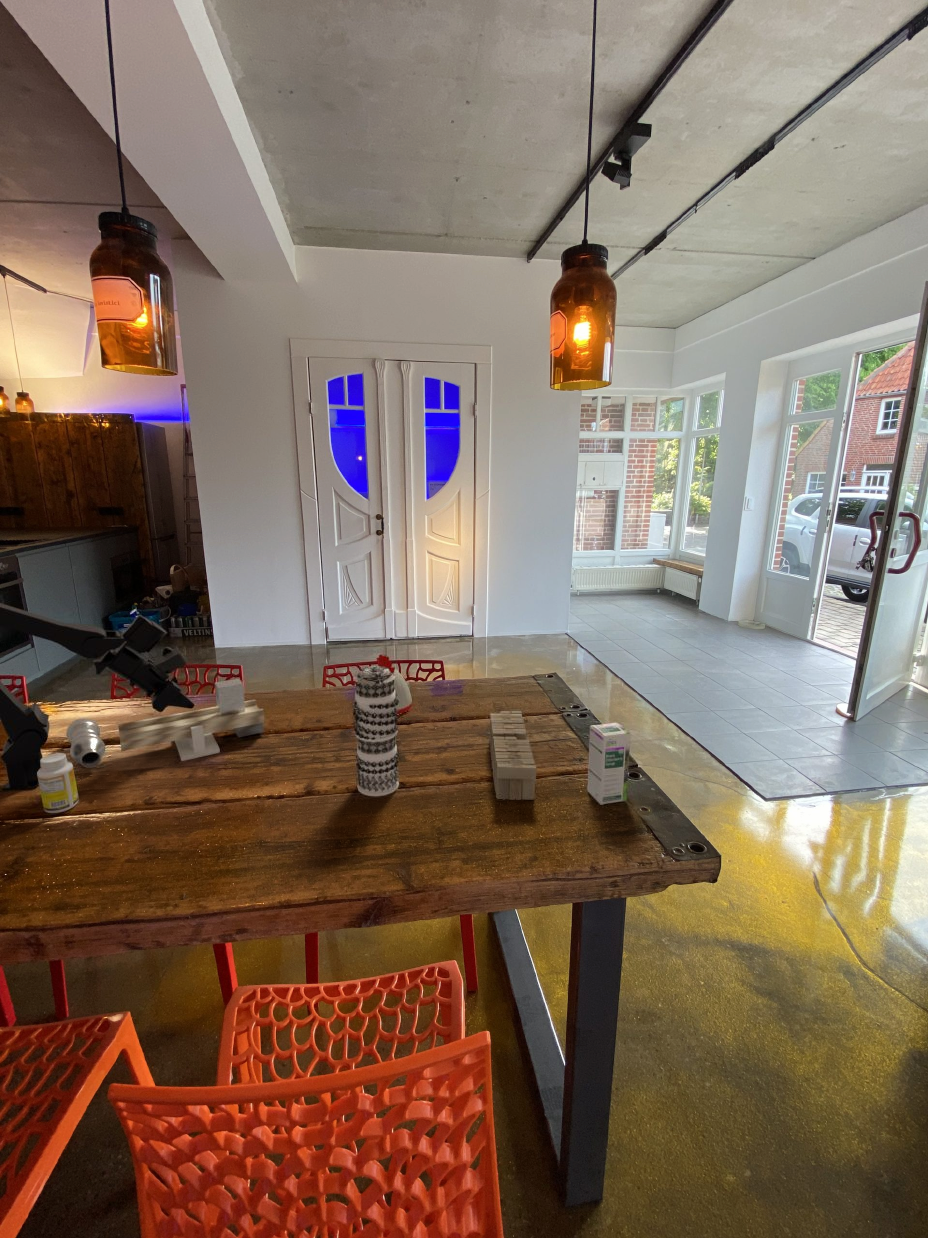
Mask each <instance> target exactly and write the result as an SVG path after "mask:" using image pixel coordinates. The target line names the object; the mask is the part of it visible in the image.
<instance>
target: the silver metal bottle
mask: <svg viewBox="0 0 928 1238" xmlns="http://www.w3.org/2000/svg"><path fill="white" fill-rule="evenodd" d="M100 734H101V729H100V726H99V724H98V723H97V722H96V721H95V720H93V719H91V718H86V717H82V718H78V719H75V720H73V721H72V722H71V723H70V724H69V726H68V727H67V728H66V733H65V735H66V738H67V740H68V742H69V743H70V745H71V746H70V748H69V749H70V750H69V754H70V758H71V759H72V760H73V761H74V762H75V763H77V764H79V765H82V766H83V767H85V768H94V767H96V766H98V765H99V764H100V763H101V761H102V758H103V757H104V755H105V753H106V748H107V747H106V745H105V742H104V741H103V739H101V738H100Z"/></svg>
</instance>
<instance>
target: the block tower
mask: <svg viewBox="0 0 928 1238" xmlns="http://www.w3.org/2000/svg"><path fill="white" fill-rule="evenodd" d="M490 746H491V747H490ZM489 747H490V757H491V759H490V761H491V760H492V761H491V770H492V769H493V771H492V777H493V779H492V780H493V785H494V792H495V796H496V797H495V798H497V799H503V800H502V801H506V800H505V799H509V800H510V801H512V800H513V801H521V800H525V801H526V800H532V801H533V800H535V794H536V793H535V789H536V788H535V786H536V785H535V784H536V780H537V765H536V762H535V759H534V756H533V752H532V749H531V748H532V747H531V745H530V740H529V739H527V730H526V724H525V722H524V718H523V714H522V711H521V710H511V711H509V710H499V713H489ZM497 799H496V800H497ZM515 799H516V800H515Z"/></svg>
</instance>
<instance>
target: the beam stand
mask: <svg viewBox="0 0 928 1238" xmlns="http://www.w3.org/2000/svg"><path fill="white" fill-rule="evenodd" d="M191 734H192V737H190V738H185V739H180V740H175V741H174V742H175V746H176V748H177V752H178V755H179V758H180V760H181V762H183V761H184V762H185V761H188V760H193V759H197V758H202V757H206V756H210V755H211V756H212V755H214V754H219V753H220V752H221V751H220V747H219V745H218V743H217V741H216V739H215V737H214V735H213V733H210V734H205V735H204V732H203V726H202V725H199V726H194V727H191Z"/></svg>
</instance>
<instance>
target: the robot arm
mask: <svg viewBox="0 0 928 1238" xmlns="http://www.w3.org/2000/svg"><path fill="white" fill-rule="evenodd" d="M0 627H2V628H6V629H9V630H12V631H16V632H19V633H22V634H26V635H30V636H33V637H37V638H39V639H40V638H41V639H43V640H47V641H51V642H52V643H53V642H54V643H55V644H58V645H60V646H62V647H63V648H65V649H66V650H68V651H70V652H72V653H74V654H77V655H79V656H80V657H83V658H86V659H90V660H93V659H94V660H93V665H94V668H95V674H96V675H97V676H99V675H101V673H103V671H104V670H105V669H106V670H109V671H111V672H112V673H114V674H115V675H116V676H118V677H120V678H122V679H123V680H125V681H126V682H128V685H129V686H131V687H133V688H134V687H136V688H138V689H139V690H141V691H142V692H144V693H145V696H147V697H148V698H150V700H151V706H152V709H153V710H155V711H157V712H158V713H160V714H161V713H162V712H163V711H165V710H166V708H167V707H176V708H183V709H189V710H190V709H194V708H195V703H194V702H193V701H192V700H191V699H190V698H189V697H188V696H187V695H186V694H185V693H184V691H183V690H182V689H181V687H180V686H181V685H180V682H179V681H178V678H177V676H173V678H172V679H170V674H172V673H173V672H174V671H176V670H178V669H179V668H183V667H185V666H187V664H188V662H187V660H186V658H185V656H184V655H183V653H182V652H181V651H180V650H179V648H173V649H172V648H171V647H169V646H165V647H164V648H162V649H161V652H160V653H161V656H158V658H157V659H156V660H153V659H150V658H144V657H142V656H141V655H140V654H145V653H150V652H151V651H152V650H153V649H154V648H155V646H157V644H158V643H159V642H161V640H162V639H164V637H165V636H166V635H167V634H168V632H167V630H166V629H164V628H163V627H161V625H159V624H158V623H156V622H155V621H153V620H150V619H148V618H147V617H145V616H143V615H142V614H138V615H137V616H136V617H135V618H134V619H133V621H132V622H131V624H129V626H128V627H126V629H125V630H124V631H122V630H104V629H103V628H102V627H99V626H97V625H96V626H94V625H88V624H82V623H71V622H70V623H68V622H63V621H59V620H56V619H53V618H49V617H46V616H43V615H40V614H36V613H33V612H30V611H26V610H24V609H21V608H17V607H14V606H10V605H8V604H4V603H2V602H0ZM127 646H128V647H127ZM130 648H131V649H132V650H131V649H130ZM136 652H137V653H139V654H137V653H136ZM100 657H101V658H100ZM99 658H100V659H99ZM49 716H50V715H49V714H47V713H45V712H43V710H42V709H41V708H40V706H39V704H38V703H37V702H33V703H32V704H31V705H27V704H24V702H21V701H20V700H18V698H17V697H16V696H15V695H14V694H13V693H12V691H10V690H9V689H8V687H6V685H4V683H3V682H2V681H1V680H0V723H1V725H2V727H3V729H4V732H5V733H6V735H7V739H6V740H5V743H4V745H3V750H2V752H1V756H0V759H1V760H2V761H3V763H4V764H5V770H6V776H7V780H8V781H7V782H6V783H5V784H3V785H2V786H1V790H2V791H5V790H6V791H7V790H8V791H9V790H20V789H21V790H23V789H24V790H25V789H36V788H37V787H39V782H38V777H37V772H38V770H39V769H40V768H41V764H40V760H41V759H42V758H43V753H42V750H41V749H42V747H43V746H44V745H45V744H46V742H47V741H48V738H49V732H50V721H49Z"/></svg>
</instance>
